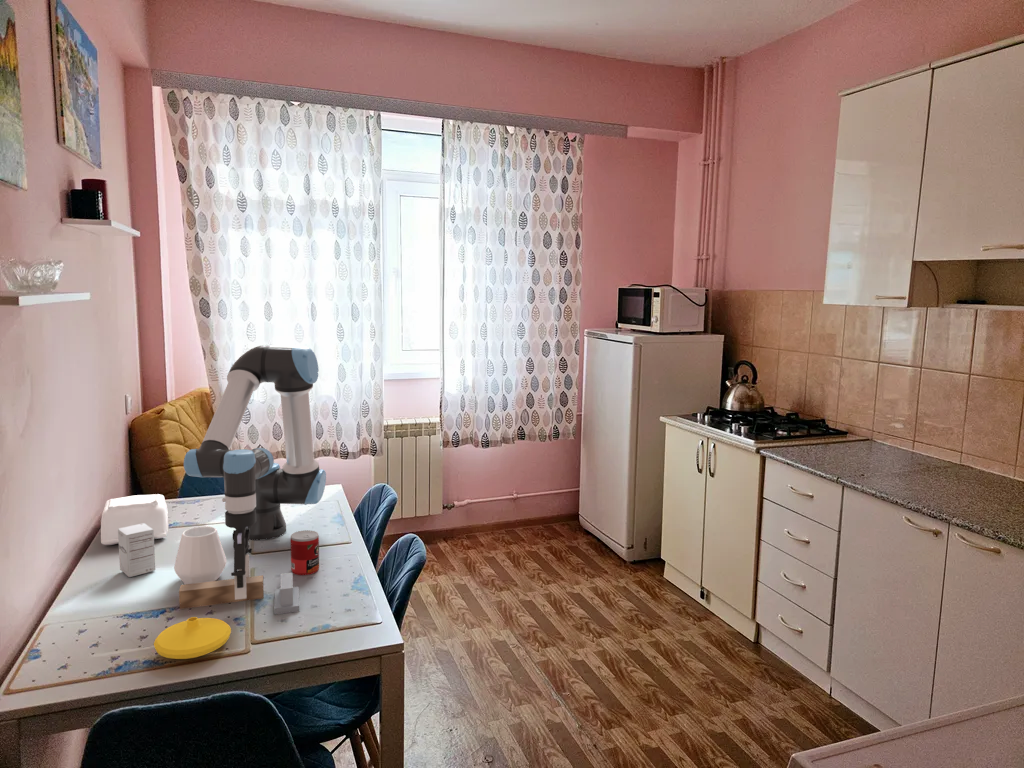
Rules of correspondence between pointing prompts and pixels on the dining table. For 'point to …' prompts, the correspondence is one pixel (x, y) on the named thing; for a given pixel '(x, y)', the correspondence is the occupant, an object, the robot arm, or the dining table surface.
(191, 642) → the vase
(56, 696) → the dining table surface
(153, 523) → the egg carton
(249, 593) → the slat
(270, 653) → the dining table surface
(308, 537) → the canned food
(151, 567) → the supplement box
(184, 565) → the white planter pot
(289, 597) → the ridge
